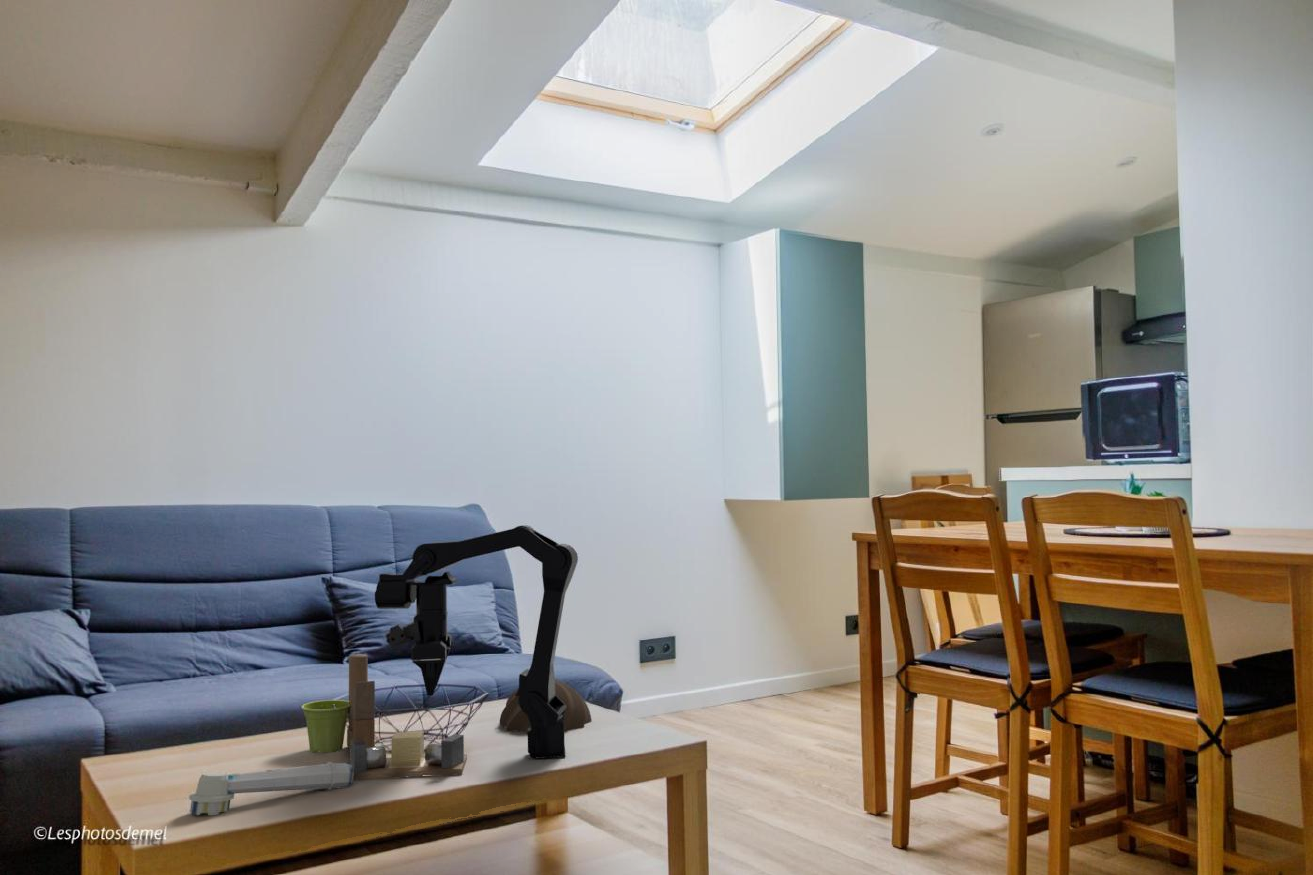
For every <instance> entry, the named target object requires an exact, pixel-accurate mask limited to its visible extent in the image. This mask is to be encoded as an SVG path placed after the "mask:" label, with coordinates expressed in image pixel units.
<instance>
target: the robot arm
mask: <svg viewBox="0 0 1313 875" xmlns="http://www.w3.org/2000/svg"><path fill="white" fill-rule="evenodd" d="M518 547H520V548H521V549H522V550H524V551H525V552H526V553H527V554H529V555H530V556H532V557H533V558H534V560H537V561H538V562H540V563H541V565H542V566H541V567H542V568H541V574H542V575H541V577H542V585H543V594H542V595H543V596H542V602H541V606H540V614H539V619H538V625H537V631H536V635H535V636H536V637H535V643H534V647H533V648H534V650H533V654H532V659H531V661H532V662H531V664H530V667H529V669H528V668H527V669H525V670H523V671H522V672H521V673H520V674H519V676H518V688H517V689H518V692H517V693H516V695H515V696H516V697H517V696H519V698H518V704H519V707H520V708H521V709H522V711H523V712H524V713H525V714H527V716H528V719H529V721H530V724H531V728H528V734H527V753H528V754H529V756H530V759H547V758H548V759H551V758H552V759H553V758H554V759H555V758H565V757H566V747H565V742H566V741H565V731H564V718H561V717H562V716H563V715H564V712H565V709H566V705H565V704H564V703H563V702H562V701H561V700H560V699H559V698H558V697H557V696H556V695H555V679H556V678H555V671H554V662H555V656H556V650H557V644H558V640H559V639H558V638H559V631H560V626H561V620H562V615H563V609H564V602H565V596H566V593H567V590H568V588H569V585H570V583H571V581H572V578H573V576H574V573H575V570H576V568H577V564H578V561H579V559H578V558H579V556H578V552H577V551H576V549H575V548H574V547H572V545H569V544H567V543H557V542H556V541H554V540H553V539H551V538H550V537H548V536H545V535H544V534H542V533H540V532H539V531H537V530H535V529H534V528H533V527H531V526H530V525H526V524H525V525H518V526H516V527H514V528H510V529H507V530H502V531H499V532H498V531H497V532H494V533H489V534H485V535H481V536H477V537H473V538H467V539H464V540H457V541H456V540H455V541H452V540H451V541H439V542H438V541H436V542H429V543H428V542H427V543H422V544H420V545H418V546H417V547H416V548H415V549H414V552H413V553H412V554H413V555H412V561H411V562H410V563H409V565H408V567H407V568H406V569H405V571H404V572H403V573H400V574H399V573H396V574H395V573H390V572H387V573H386V572H385V573H381V574H379V575H378V576H379V577H378V578H379V580H378V582H377V584H376V589H375V591H374V602H375V607H376V608H377V609H378V610H398V609H399V610H400V609H401V610H403V609H404V610H406V609H409V608H410V607H411V605H412V604H414V603H416V605H415V606H416V608H415V609H416V614H415V615H414V616H413V621H412V622H409V623H406V624H403V625H400V624H396V625H395V626H391V627H390V628H389V631H387V632H386V633H385V634H384V636H385V639H386V643H387V644H388V646H389V648H390V650H391V651H392V650H395V649H398V648H399V647H400V646H402V645H405V644H408V643H410V642H412V641H413V642H412V643H413V644H414V645H413V646H412V647H411V649H410V661H411V662H412V663H413V664H415V665H416V666H417V667H419V669H420V670H421V676H422V679H423V683H424V687H425V692H426V695H427V696H434V694H435V692H436V688H437V687H438V684H439V680H440V677H441V675H442V673H443V670H444V667H445V664H446V661H447V658H448V656H449V653H450V650H451V647H452V646H451V645H452V635H451V634H450V633H449V632H448V617H449V616H448V607H447V606H448V604H447V603H448V602H447V601H448V600H447V599H448V598H447V595H448V594H447V587H448V586H447V585H449V586H451V585H453V584H454V585H455V584H457V583H458V579H457V578H455V577H454V576H453V575H452V574H451V573H450V571H445V572H443V574H442V575H428V574H434V573H438V572H440V571H444V570H445V569H448V568H450V567H453V566H455V565H457V564H459V563H461V562H463V561H465V560H468V559H472V558H475V557H480V556H483V555H488V554H489V555H490V554H492V553H496V552H501V551H506V550H509V549H510V550H511V549H514V548H518ZM427 575H428V576H427ZM426 576H427V577H426ZM423 577H426V578H425V580H418V581H417V580H415V579H420V578H423Z"/></svg>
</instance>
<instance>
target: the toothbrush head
mask: <svg viewBox="0 0 1313 875" xmlns="http://www.w3.org/2000/svg"><path fill="white" fill-rule="evenodd" d="M353 774H354V771H353V766H352V764H350V762H338V763H337V762H336V763H333V762H331V761H327V762H326V763H321V764H314V765H313V764H311V765H305V766H293V767H285V768H284V767H283V768H274V769H265V770H256V771H254V770H253V771H246V772H238V773H236V772H235V773H228V772H222V771H210V772H209V771H208V772H204V773H202V774H201V776H200V777H199V780H198V783H197V786H196V790H195V791H192V792H191V793H189V795H188V799H189V800H190V801H191V804H190V809H189V812H190V814H192V815H196V816H200V815H201V814H207V816H216V815H217V816H218V815H219V814H220V813H227V812H228V811H229V810H230V804H231V801H232V800H233V799H234V798H235V794H248V793H249V794H250V793H252V794H253V793H266V792H268V793H269V792H282V791H283V792H286V791H288V792H289V791H300V790H302V791H304V790H322V789H324V790H327V789H328V791H330V790H331V789H339V788H344V787H345V786H346V787H350V786H351V785H352V784H353V782H354V780H353ZM346 787H345V788H346Z"/></svg>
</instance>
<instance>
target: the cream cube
mask: <svg viewBox="0 0 1313 875" xmlns="http://www.w3.org/2000/svg"><path fill="white" fill-rule="evenodd" d="M424 742H425V730H409V731H395V733H394V734H393V735H392V736H391V756H390V758H391V767H408V766H421V763H422V761H423V759H424V756H425V743H424Z"/></svg>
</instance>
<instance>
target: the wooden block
mask: <svg viewBox="0 0 1313 875" xmlns="http://www.w3.org/2000/svg"><path fill="white" fill-rule="evenodd" d="M368 659H369V658H368V654H365V653H356V654H351V655H349V656H348V701H349V705H350V707H349V713H348V728H347V729H346V747H347V748H348V749H349V750H350V740H354V739H362V740H363V741H364V742H365V743H366V748H369V747H376V746H375V744H376V742H375V741H376V738H375V736H376V735H375V734H376V733H375V732H376V731H375V729H376V726H375V724H376V723H375V722H376V720H375V716H376V715H375V713H376V712H375V710H376V705H375V704H376V703H375V702H376V700H375V699H376V698H375V697H376V694H375V693H376V688H375V687H376V681H375V680H369V679H368V678H369V677H368V674H369V673H368V672H369V671H368V668H369V667H368V662H369V661H368ZM368 680H369V681H368Z"/></svg>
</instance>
